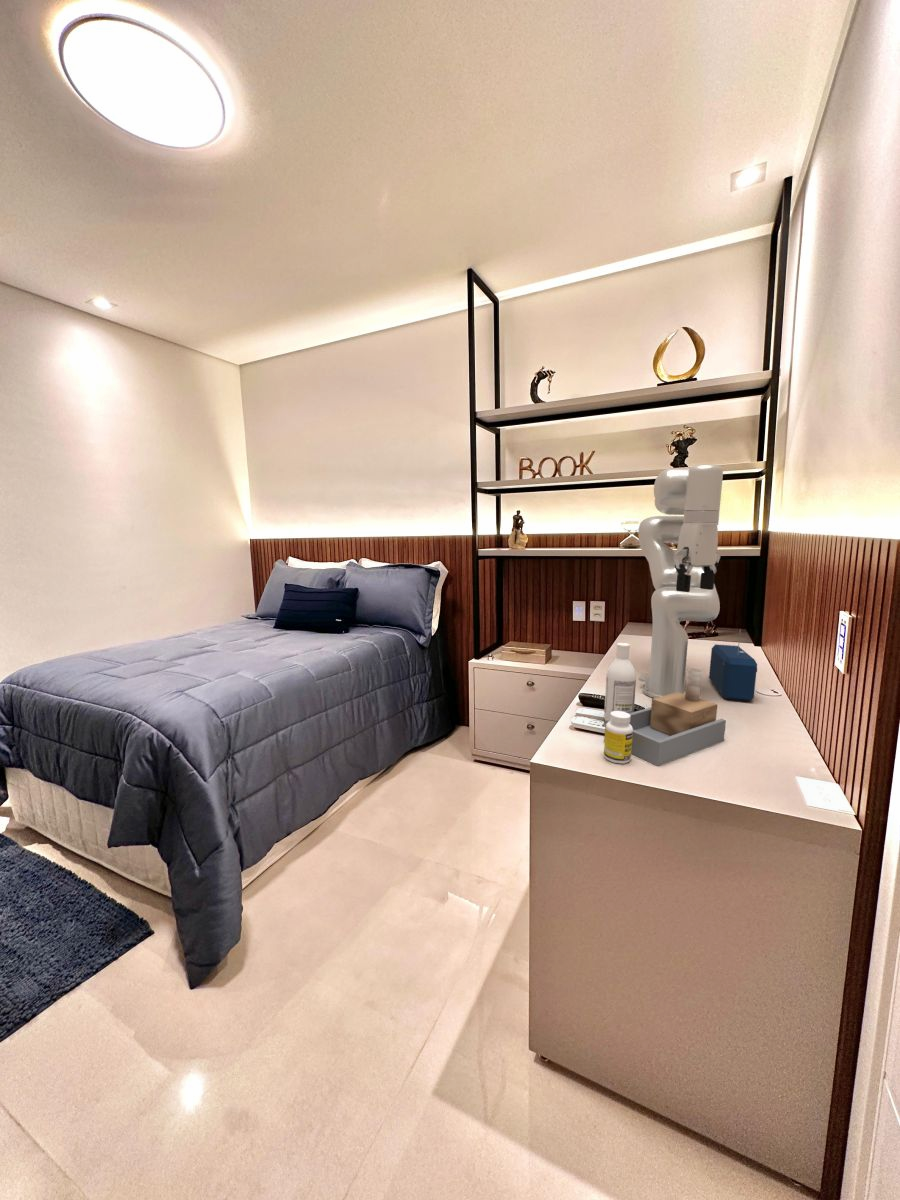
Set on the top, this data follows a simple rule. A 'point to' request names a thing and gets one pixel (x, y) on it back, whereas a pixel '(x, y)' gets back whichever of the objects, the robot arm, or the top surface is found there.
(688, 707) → the block
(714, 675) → the radio
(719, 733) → the bay
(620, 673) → the bath foam
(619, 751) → the supplement bottle
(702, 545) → the robot arm
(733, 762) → the top surface
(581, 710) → the top surface
